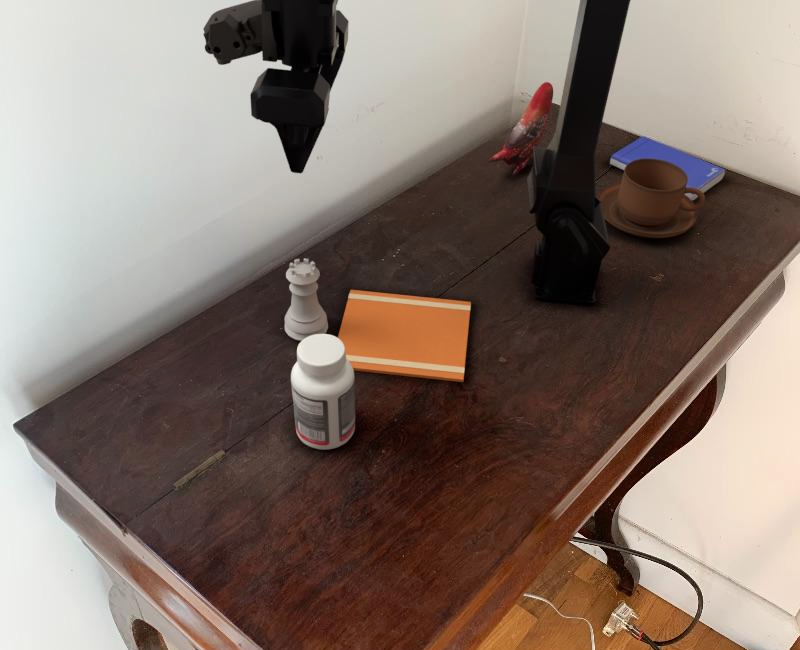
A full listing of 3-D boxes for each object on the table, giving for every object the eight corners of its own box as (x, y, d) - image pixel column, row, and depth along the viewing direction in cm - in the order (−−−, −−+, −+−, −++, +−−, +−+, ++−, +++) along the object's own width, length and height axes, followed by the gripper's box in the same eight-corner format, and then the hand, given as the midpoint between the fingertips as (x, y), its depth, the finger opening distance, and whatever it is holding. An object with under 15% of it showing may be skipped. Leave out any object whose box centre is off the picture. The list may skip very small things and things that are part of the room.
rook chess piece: (336, 323, 83) (334, 260, 77) (315, 349, 80) (311, 285, 74) (298, 311, 84) (293, 247, 78) (276, 336, 81) (269, 272, 76)
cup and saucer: (678, 193, 103) (692, 149, 98) (705, 248, 95) (721, 202, 90) (585, 192, 102) (595, 147, 98) (604, 247, 94) (616, 201, 90)
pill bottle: (340, 400, 75) (338, 320, 68) (365, 439, 72) (365, 359, 65) (286, 419, 73) (278, 338, 66) (309, 459, 70) (303, 379, 63)
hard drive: (726, 168, 105) (644, 134, 111) (694, 191, 100) (611, 154, 106) (722, 179, 106) (641, 145, 112) (691, 202, 102) (608, 165, 107)
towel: (470, 304, 86) (471, 301, 86) (463, 382, 78) (463, 378, 77) (350, 292, 87) (350, 288, 86) (330, 368, 78) (330, 364, 78)
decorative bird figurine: (551, 150, 110) (564, 78, 102) (494, 210, 99) (504, 134, 92) (532, 144, 111) (544, 73, 103) (473, 202, 100) (481, 127, 93)
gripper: (231, -66, 74) (242, 96, 85) (179, 9, 61) (199, 189, 72) (351, -53, 74) (346, 107, 86) (324, 25, 61) (322, 202, 73)
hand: (304, 148), depth 79 cm, fingers open, 9 cm apart
